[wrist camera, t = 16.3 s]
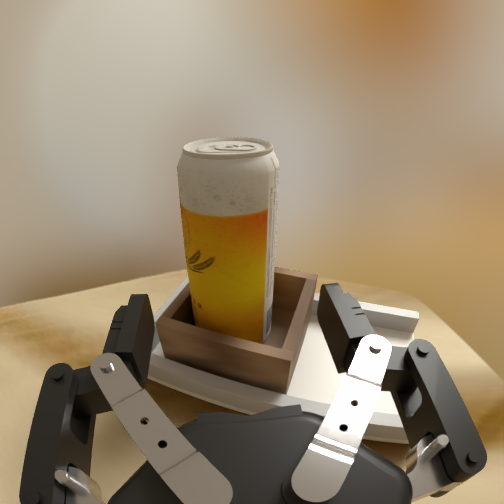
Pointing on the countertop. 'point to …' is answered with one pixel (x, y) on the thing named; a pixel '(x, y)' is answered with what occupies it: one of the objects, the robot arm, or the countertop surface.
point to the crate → (239, 350)
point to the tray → (295, 374)
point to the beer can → (230, 233)
